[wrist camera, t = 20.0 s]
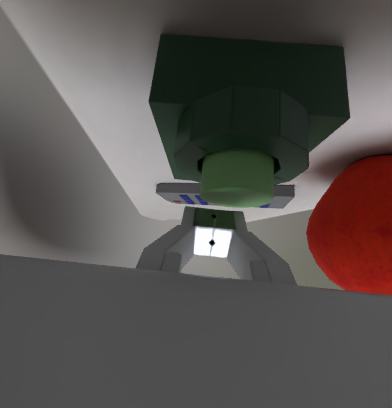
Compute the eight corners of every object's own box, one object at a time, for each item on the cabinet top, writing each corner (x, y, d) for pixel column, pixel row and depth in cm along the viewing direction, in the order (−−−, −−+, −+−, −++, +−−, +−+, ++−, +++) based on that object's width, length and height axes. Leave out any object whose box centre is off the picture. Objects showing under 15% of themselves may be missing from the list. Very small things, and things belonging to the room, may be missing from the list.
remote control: (282, 198, 35) (282, 210, 35) (169, 195, 41) (168, 205, 40) (294, 184, 28) (294, 198, 27) (153, 182, 33) (151, 194, 32)
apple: (290, 180, 26) (291, 283, 23) (349, 127, 15) (367, 317, 12) (385, 186, 25) (399, 296, 22) (531, 132, 13) (602, 348, 10)
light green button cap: (204, 141, 8) (200, 185, 8) (287, 148, 8) (287, 193, 8) (202, 172, 12) (198, 204, 11) (260, 177, 12) (259, 210, 11)
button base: (155, 1, 8) (130, 122, 7) (367, 15, 8) (384, 144, 7) (179, 141, 19) (171, 199, 18) (268, 149, 19) (267, 208, 18)
